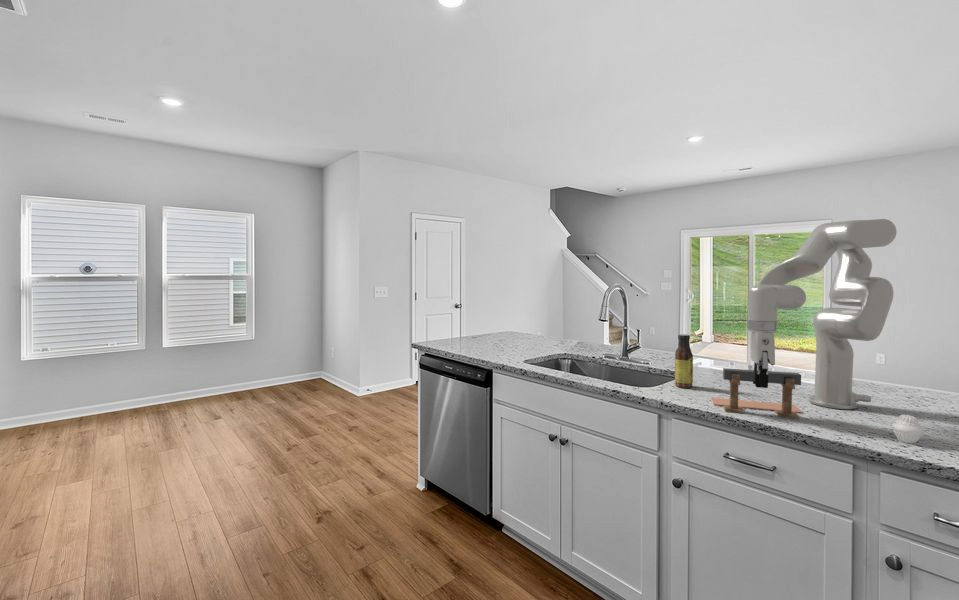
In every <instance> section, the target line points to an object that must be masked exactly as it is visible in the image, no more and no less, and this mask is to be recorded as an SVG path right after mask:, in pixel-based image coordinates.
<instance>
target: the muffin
mask: <svg viewBox="0 0 959 600" xmlns="http://www.w3.org/2000/svg"><path fill="white" fill-rule="evenodd" d="M918 421H919V420H918V418H917V417H915V416H913V415H909V414H901V415H899V416H898V418H897V419H896V420H895V421H893V422H891V423H890V427H891V429H892V432H893V433H894V435H895V437H896V439H897V441H899V442H901V441H902V442H901V443H904V442H905V443H906V444H912V443H914V444H916V443H917V442H918V441H919V440H920V439H921V438H922V437H923V434H924V433H925V428H924V427H923V426H922V425H921V423H920V422H918ZM912 445H913V444H912Z"/></svg>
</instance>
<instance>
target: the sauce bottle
mask: <svg viewBox="0 0 959 600" xmlns="http://www.w3.org/2000/svg"><path fill="white" fill-rule="evenodd" d="M677 339H678V347H677V348H676V350H675V358H674V382H675V383H674V384H675V386H676V387H678V388H680V389H681V388H683V389H691V388H692V387H693V382H694V381H693V380H694V379H693V377H694V355H693V352H692V349H691V347H690V339H691V335H690V334H684V333H683V334H682V333H681V334H678V335H677Z"/></svg>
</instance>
